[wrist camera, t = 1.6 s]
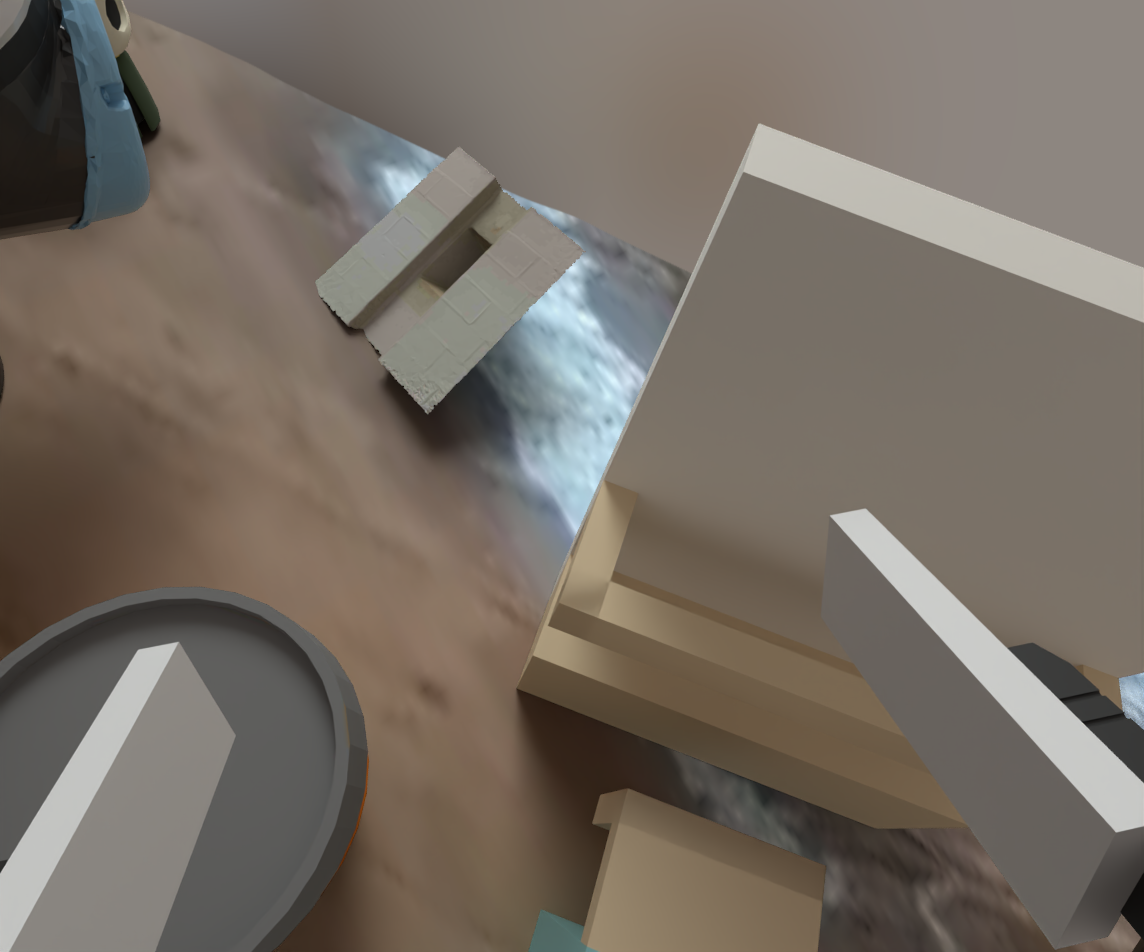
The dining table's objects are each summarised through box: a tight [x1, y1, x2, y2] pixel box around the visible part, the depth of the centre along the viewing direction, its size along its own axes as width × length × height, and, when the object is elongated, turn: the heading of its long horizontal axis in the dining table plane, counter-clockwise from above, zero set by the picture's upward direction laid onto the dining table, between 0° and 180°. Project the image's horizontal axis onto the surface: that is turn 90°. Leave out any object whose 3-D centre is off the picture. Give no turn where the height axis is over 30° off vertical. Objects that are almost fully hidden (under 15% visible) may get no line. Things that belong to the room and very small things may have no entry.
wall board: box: [517, 124, 1144, 829], centre depth 26 cm, size 22×8×30 cm, turn 71°
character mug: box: [95, 0, 160, 138], centre depth 47 cm, size 11×7×13 cm, turn 152°
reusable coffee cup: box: [0, 587, 369, 952], centre depth 26 cm, size 13×13×15 cm
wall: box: [315, 147, 586, 414], centre depth 47 cm, size 16×9×15 cm
